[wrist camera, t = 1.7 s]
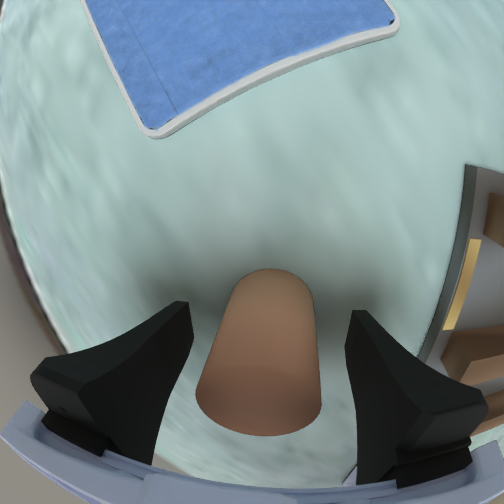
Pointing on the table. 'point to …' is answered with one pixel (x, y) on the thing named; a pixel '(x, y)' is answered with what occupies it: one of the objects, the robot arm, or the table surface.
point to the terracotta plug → (264, 358)
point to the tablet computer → (220, 48)
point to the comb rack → (474, 297)
